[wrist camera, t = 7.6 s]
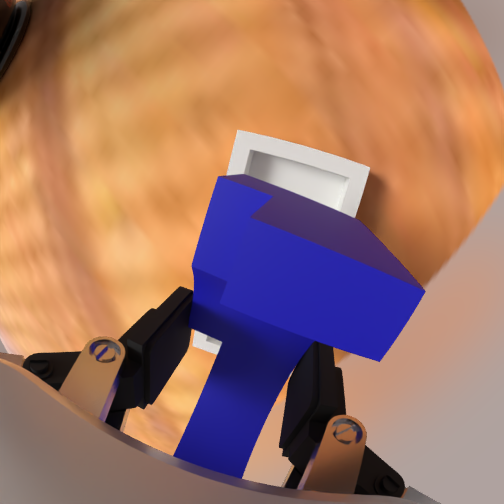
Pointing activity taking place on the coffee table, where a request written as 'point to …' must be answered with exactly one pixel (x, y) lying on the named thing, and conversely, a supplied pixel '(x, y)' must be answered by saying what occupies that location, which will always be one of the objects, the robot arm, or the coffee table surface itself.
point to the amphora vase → (11, 29)
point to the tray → (295, 180)
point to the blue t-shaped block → (280, 306)
